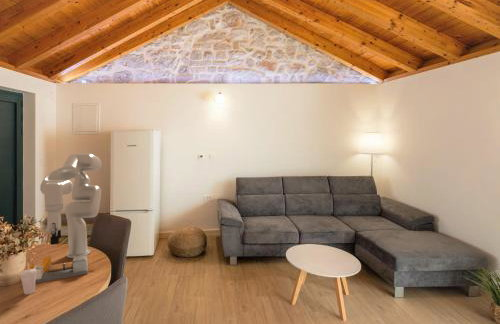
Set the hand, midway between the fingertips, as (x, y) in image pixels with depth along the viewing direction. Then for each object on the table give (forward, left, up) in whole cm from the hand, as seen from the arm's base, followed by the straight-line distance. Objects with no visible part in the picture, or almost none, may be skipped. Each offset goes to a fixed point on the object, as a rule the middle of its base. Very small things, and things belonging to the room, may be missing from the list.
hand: (56, 240), depth 152 cm
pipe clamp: (-7, -9, -18) cm, 22 cm away
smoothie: (+13, -10, -18) cm, 25 cm away
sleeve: (0, +10, -17) cm, 20 cm away
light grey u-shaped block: (0, -8, -17) cm, 19 cm away
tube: (0, +4, -16) cm, 16 cm away
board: (0, +1, -18) cm, 18 cm away
